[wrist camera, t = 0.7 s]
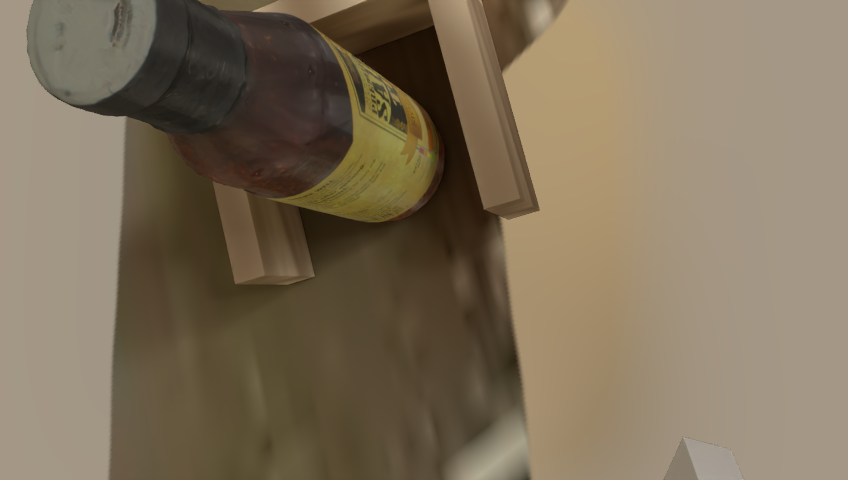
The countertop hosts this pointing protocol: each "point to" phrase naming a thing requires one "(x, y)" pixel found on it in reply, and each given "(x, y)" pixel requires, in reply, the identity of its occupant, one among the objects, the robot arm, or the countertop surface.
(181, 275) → the countertop surface
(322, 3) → the wooden u-shaped frame
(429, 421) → the countertop surface
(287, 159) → the sauce bottle
